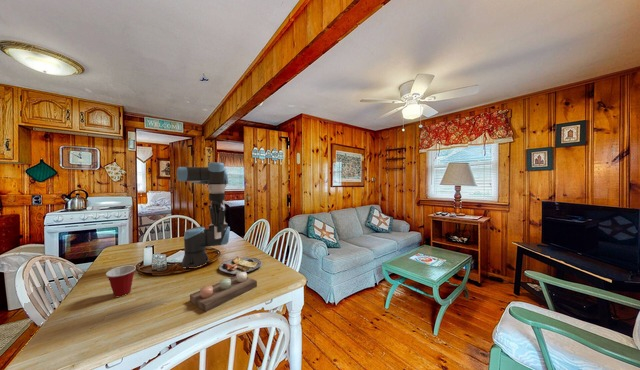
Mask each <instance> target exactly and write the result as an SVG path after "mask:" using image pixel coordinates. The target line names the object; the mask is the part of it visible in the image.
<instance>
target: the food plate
mask: <svg viewBox="0 0 640 370" xmlns="http://www.w3.org/2000/svg"><path fill="white" fill-rule="evenodd" d="M262 264H263V261H262V260H260V259H259V258H256V257H250V256H249V257H248V256H246V257H244V256H243V257H239V256H236V257H235V258H232V259H228V260H225V261H223V262H222V263H221V264H219V266H218V270H219V271H221V272H224V273H226V274H231V275H236V274H237V273H240V272H246V273H247V272H251V271H254V270H256V269H258V268H259V267H261V266H262Z"/></svg>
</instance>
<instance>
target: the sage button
mask: <svg viewBox="0 0 640 370" xmlns="http://www.w3.org/2000/svg"><path fill="white" fill-rule="evenodd" d="M229 278H230V277H229ZM229 278H227V277H226V278H223V279H220V280H219V283H220V289H222V290H225V289H228V288H230V287H231V279H229Z"/></svg>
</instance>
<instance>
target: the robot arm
mask: <svg viewBox="0 0 640 370" xmlns="http://www.w3.org/2000/svg"><path fill="white" fill-rule="evenodd" d="M176 180H177V181H179V182H190V183H193V184H199V185H207V188H208V192H209V193H208V200H209V201H210V204H209V205H208V210H209V214H210V224H209V225H208V228H206V227H205V226H196V227H193V228H189V229H187V230H185V231H184V235H183V240H184V241H183V243H184V246H183V247H184V253H183V254H184V255H183V258H182V262H181V268H182V267H186V268H189V267H197V266H200V265H203V264H205V263H207V262H208V261H209V257H208V254H207V252H206V248H208V247H219V246H224V245H228V243H229V241H230V230H231V227H230V226H229V225H228V223H227V222H226V211H227V206H225V199H226V194H225V192H226V187H227V185H228V184H229V177H228V171H227V168H225V164H224V162H214V161H213V162H211V161H210V162H209V163H208V165H207V166H201V167H200V166H199V167H198V166H178V167H177V169H176Z"/></svg>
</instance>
